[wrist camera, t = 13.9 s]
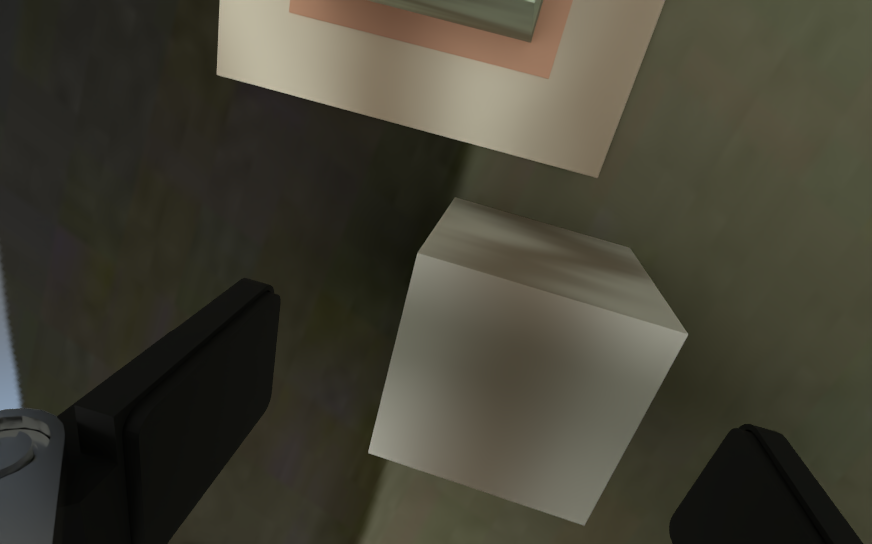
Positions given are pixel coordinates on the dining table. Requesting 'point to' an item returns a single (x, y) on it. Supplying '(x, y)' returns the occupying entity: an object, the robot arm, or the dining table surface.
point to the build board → (452, 69)
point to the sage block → (480, 14)
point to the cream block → (523, 360)
